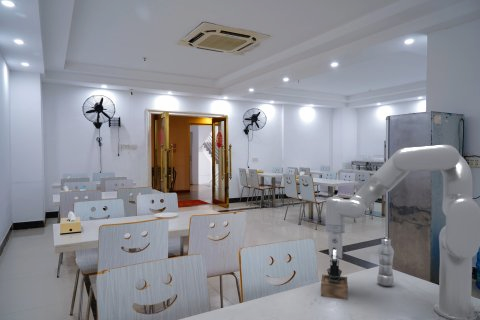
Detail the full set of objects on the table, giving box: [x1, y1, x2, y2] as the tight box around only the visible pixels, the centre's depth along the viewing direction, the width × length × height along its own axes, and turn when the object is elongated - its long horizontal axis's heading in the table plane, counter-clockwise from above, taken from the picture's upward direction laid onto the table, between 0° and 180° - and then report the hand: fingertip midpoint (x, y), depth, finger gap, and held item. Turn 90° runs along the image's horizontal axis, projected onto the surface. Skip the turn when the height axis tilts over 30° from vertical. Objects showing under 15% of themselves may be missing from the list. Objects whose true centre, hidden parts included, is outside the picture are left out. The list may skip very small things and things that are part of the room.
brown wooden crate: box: [320, 273, 349, 301], centre depth 132 cm, size 10×10×5 cm
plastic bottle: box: [377, 237, 395, 287], centre depth 140 cm, size 6×7×20 cm
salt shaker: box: [326, 256, 343, 282], centre depth 132 cm, size 6×6×12 cm
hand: (334, 271), depth 132 cm, fingers closed on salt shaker, 5 cm apart
